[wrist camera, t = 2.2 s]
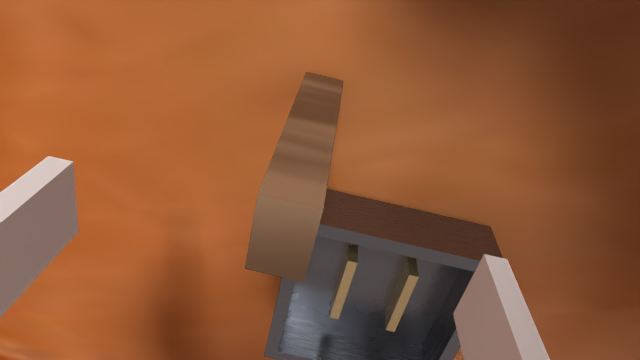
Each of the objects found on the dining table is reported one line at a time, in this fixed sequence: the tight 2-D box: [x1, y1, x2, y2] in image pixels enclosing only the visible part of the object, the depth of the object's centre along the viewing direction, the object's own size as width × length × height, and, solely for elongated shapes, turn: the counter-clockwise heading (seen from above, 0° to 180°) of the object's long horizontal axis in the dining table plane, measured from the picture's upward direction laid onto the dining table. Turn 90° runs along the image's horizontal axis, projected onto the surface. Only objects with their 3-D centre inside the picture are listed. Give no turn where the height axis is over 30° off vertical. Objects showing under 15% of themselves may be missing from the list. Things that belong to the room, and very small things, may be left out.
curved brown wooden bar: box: [245, 72, 343, 282], centre depth 19 cm, size 3×2×12 cm, turn 168°
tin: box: [264, 189, 502, 360], centre depth 29 cm, size 12×12×4 cm
